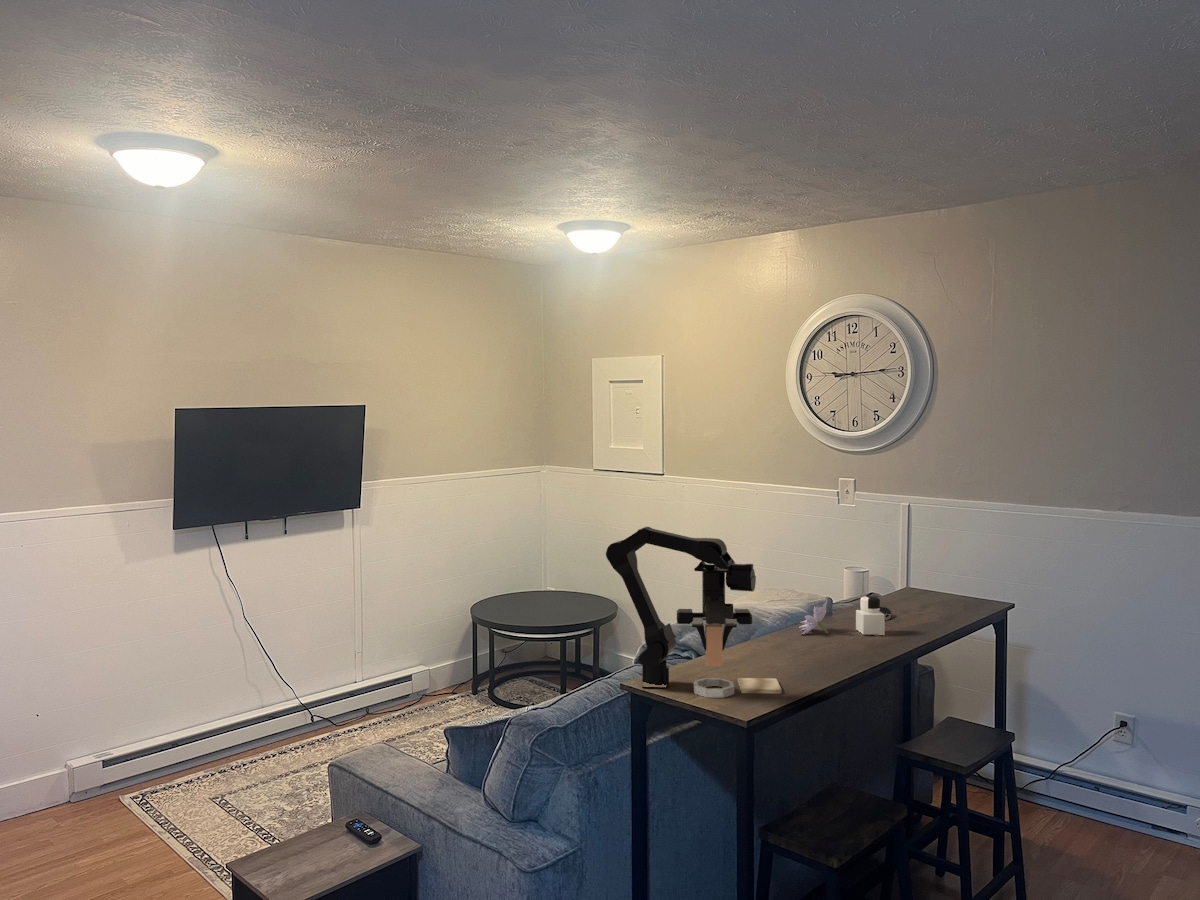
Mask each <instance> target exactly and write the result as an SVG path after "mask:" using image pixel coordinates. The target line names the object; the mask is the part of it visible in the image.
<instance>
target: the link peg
mask: <svg viewBox="0 0 1200 900" xmlns="http://www.w3.org/2000/svg"><path fill="white" fill-rule="evenodd" d="M704 632H705V639H706V651H705V666H706V667H724V666H723V664H724V663H723V662H724V661H723V657H724V656H723V655H724V654H723V652H724V650H723V651H722V632H723V624H707V623H706V622H705V624H704Z"/></svg>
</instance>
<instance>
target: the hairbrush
mask: <svg viewBox="0 0 1200 900" xmlns="http://www.w3.org/2000/svg"><path fill="white" fill-rule="evenodd" d="M879 611H880V612H881V613H884V614H886V613H887V614H891V615H892V610H890V608H889V607H887V606H880V610H879ZM886 616H887V615H886ZM888 616H889V615H888Z"/></svg>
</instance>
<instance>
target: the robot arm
mask: <svg viewBox="0 0 1200 900" xmlns="http://www.w3.org/2000/svg"><path fill="white" fill-rule="evenodd" d="M646 544H648V545H652V546H656V547H661V548H664V549H668V550H669V549H670V550H674V551H676V552H681V553H685V554H687V555H689V556H692V557H693V558H694V559H696V560H699V561H700V562H699V563H698V564H697V566H695V567H694V568H693V570H694V571H695V572H702V573H701V574H702V575H701V576H702V581H701V583H702V586H701V591H702V594H701V595H702V603H701V604H702V607H701V608H702V609H701V610H702V612H693V609H692V608H678V609H677V610H676V624H678V625H690V624H691V627H692V628H696V630H697V632H698V634H699V637H700V639H701V643H702V647H703V650H704V651H705V652H706V638H705V624H704V621H705V623H707V624H722V651H723V652H724V650H725V647H726V644H727V641H728V637H729V635H730V633H731V631H732V630H733V628H737V627H738V624H739V625H752V624H753V614H752V613H751V611H750V610H749V609H748V608H735V609H734V603H726V587H727V588H729V590H730V591H739V592H755V589H756V584H757V582H756V581H757V580H756V578H757V577H756V576H757V575H756V574H755V573H756V572H755V568H754V564H753V563H745V564H744V563H736V562H735V561H734V559H733V558H732V557H731V554H730V553H729V552H728V548H727V545H726V543H725V542H724V541H723V540H722V539H720V538H713V537H712V538H711V537H691V536H686V535H681V534H678V533H673V532H667V531H664V530H660V529H657V528H656V529H655V528H653V527H650V526H644V527H641V528H639V529H637V531H636V532H634V533H633V534H631V535H629V536H627V537H626V538H625V539H622V540H618V541H616V542H612V543H611V544H609V545H608V547H606V551H605V557H606V559H607V561H608V562H609V563H610V565H611V567H612V569H614V571H616V573H617V574H618V575H619V576H620V578H622V580H623V582H624V586H625V587H626V591H627V592H628V594H629V597H630V598H631V601H632V604H633V606H634V608H635V610H636V612H637V614H638V617H639V619H640V622H641V624H642V626H643V631H644V632H643V633H644V642H645V645H646V649H645V650H644V651H643V652H642V653H641V654H640V655H639V656H638V660H639V663H640V665H642V669H641V670H642V671H641V673H642V680H641V682H642V681H643V682H646V683H649V684H655V685H662V684H664V685H666V684H667V685H669V683H670V666H669V665H668V664H667V660H666V659H668V658H669V655H670V654H671V653H672V652H673V651H674V650H675V649H676V648H675V647H676V643H677V642H676V639H677V636H676V634H675V633H674V631H673V628H672V625H671V623H668V624H666V625H665V624H664V622H662V621H661V619H660V617H659V615H658V613H657V610H656V608H655V606H654V604H653V601H652V599H651V597H650V595H649V592H648V590H647V588H646V586H645V584H644V581H643V579H642V576H641V574H640V573H639V569H638V568H639V567H638V557H637V554H636V552H637V551H638V550H640V549H641V548H643V547H644V546H645V545H646ZM737 623H738V624H737Z"/></svg>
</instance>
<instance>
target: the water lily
mask: <svg viewBox="0 0 1200 900" xmlns="http://www.w3.org/2000/svg"><path fill="white" fill-rule="evenodd" d="M827 603H828V600H826V601H825V603H823V605H822V606H818V605H817V606H816V605H814V606H813V615H805V616H804V619H805V620H803V621H799V623H801V624H803V625H800V626H799V627H798V628H799V629H800V631H803V632H802V633H801V634H803V635H805V633H806V634H807V633H809V632H811V631H812V630H813V629H814V628H815V627H817V626H818V625H819V626H820V627H821V628H822V630H823V631H824V633H825V634H826V633H829V632H828V631H827V629H826V628H825V627H824V626H823V625H822V624H821V622H822V620H823V619H824V617H825V616H826V613H827V605H828V604H827Z"/></svg>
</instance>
